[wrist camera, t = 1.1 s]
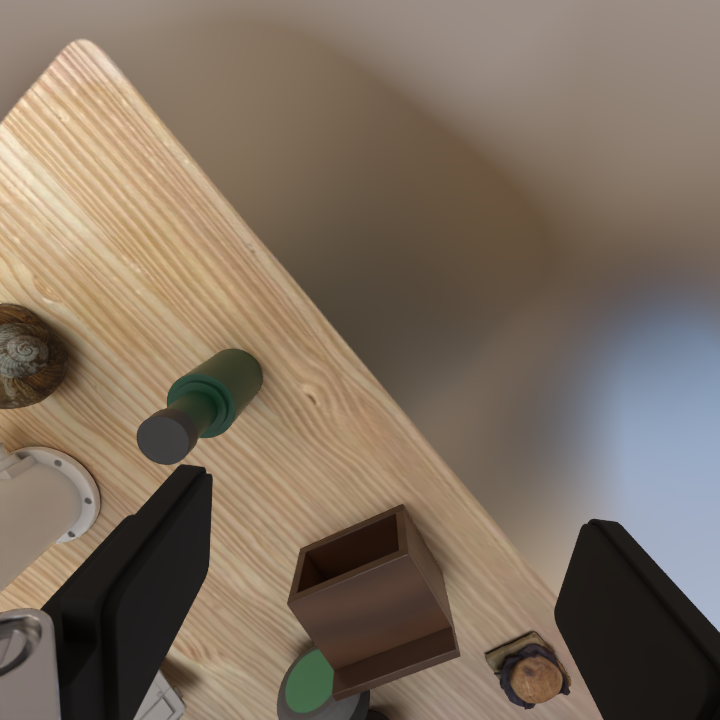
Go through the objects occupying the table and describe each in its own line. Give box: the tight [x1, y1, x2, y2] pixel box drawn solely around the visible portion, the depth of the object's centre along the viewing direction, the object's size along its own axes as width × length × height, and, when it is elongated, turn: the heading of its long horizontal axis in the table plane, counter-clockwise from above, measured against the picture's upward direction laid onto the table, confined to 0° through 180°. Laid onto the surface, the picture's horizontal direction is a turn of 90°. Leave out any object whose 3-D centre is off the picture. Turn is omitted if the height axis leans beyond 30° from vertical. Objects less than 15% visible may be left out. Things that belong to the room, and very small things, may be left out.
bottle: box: [137, 349, 263, 465], centre depth 36 cm, size 6×6×16 cm
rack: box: [287, 504, 460, 702], centre depth 44 cm, size 11×14×10 cm
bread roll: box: [485, 632, 571, 710], centre depth 51 cm, size 11×8×4 cm
